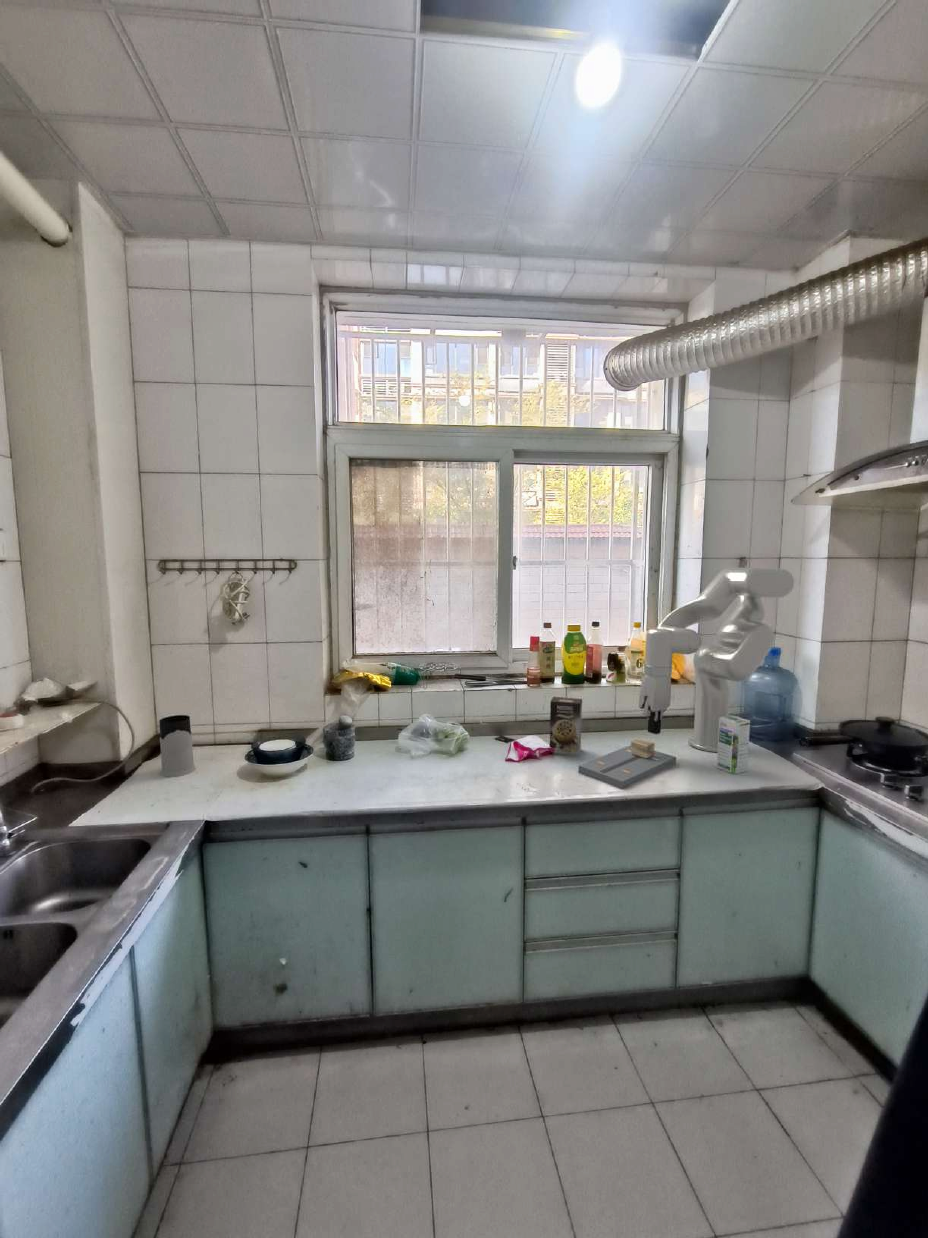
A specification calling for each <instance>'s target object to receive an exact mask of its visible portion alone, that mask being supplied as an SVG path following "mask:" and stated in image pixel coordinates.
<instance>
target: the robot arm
mask: <svg viewBox="0 0 928 1238" xmlns="http://www.w3.org/2000/svg"><path fill="white" fill-rule="evenodd" d="M794 587H795V578H794V576H793V574H792V573H791V572H790V571H789V570H787V569H783V568H781V569H780V568H760V567H759V568H758V567H727V568H723V569H722V570H721V571H720V572H719V573H718V574H717V575H715V577H714V578H713V579H712V580H711V581H710V583H709V584H708V585H707V586H706V587H705V588H704V589H703V591H702V592H701V593H700V594H699V596H697V597H696V598H695V599H693V600H690V601H688V602H686V603H684V604H683V605H681V606H679V607H678V608H676V609H674V610H673V611H671V612H670V613H669V614H668V615H666V616H665V617H664V618H663V619H662V621H661V622H660V623H659V624H658V625H657V627H656V628H650V629H648V630H647V631H646V635H645V648H644V650H645V652H644V665H643V666H644V668H643V676H642V679H641V685H640V691H639V697H638V698H639V699H638V708H639V709H641V710H643V712H642V714H643V716H647V718H646V719H648V720H647V733H651V734H653V735H659V734H661V732H662V731H661V728H662V719H663V715H664V713H666V711H667V710H668V708H669V707H670V706H671V702H672V674H673V673H672V672H673V671H672V670H673V658H674V657H673V655H674V654H676V655H692V654H693V669H694V674H695V699H694V700H695V701H694V702H695V704H694V723H693V725H694V727H693V735H692V736H690V737H689V738H688V744H689V745H690V746H691V747H693V748H695V749H697V750H701V751H705V752H714V753H718V734H719V718H721V717H723V716H730V695H731V693H730V691H731V690H730V686H729V684H728V681H732V682H737V683H741V682H742V683H743V682H744V681H747V680H748V679H749V678H750V677H751V676H752V675H753V674H755V672H756V670H757V669H758V668H759V666H760V665H761V663H763V662H764V660H765V658H766V657H767V655H768V654H769V653H770V651H771V649H772V647H773V645H774V641H775V636H774V632H773V628H771V627H770V626H769V625H768V624H766V623H763V620H764V618H765V615H766V614H765V608H764V605H763V603H762V599H761V598H784V597H786V596H788V595H789V594H791V593H792V591H793V590H794ZM736 599H737V604H736V607H734V610H733V611H732V612H731V613H730V615H729V616H728V617H727V619H726V620H725V621H724V623H722V625H721V626H720V628H719V630H718V631H717V634H716V640H717V643H718V644H719V645H718V644H704V645H703V644H702V637H701V636H700V634H699V633H698V632H697V631H695V630H694V629H690V628H688V627H691V626H693V625H696V624H700V623H704V622H709V621H713V620H716V619H718V618H720V617H721V616H722V615H723V614H724V613H725V612H726V610H727V609H728V608H729V607H730V606H731V604H732V603H733V602H734V601H735V600H736Z"/></svg>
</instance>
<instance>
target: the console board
mask: <svg viewBox="0 0 928 1238" xmlns="http://www.w3.org/2000/svg"><path fill="white" fill-rule="evenodd" d="M676 764H677V756H674V755H671V754H667V753H665V752H661V751H659V750H658V751H657V750H654V755H653V756H651V757H648V758H644V757H640V756H637V755H634V754H631V744H630V745H628V746H624V747H623V748H620V749H618V750H615V751H612V752H609V753H607V754H604V755H602V756H599V757H597V758H594V759H592V760H589V761H587V762H584V763H581V764H578V768H577V769H578V771H577V772H578V773H579V774H581V775H584V776H587V777H589V778H592V779H595V780H597V781H599V782H603V783H605V784H608V785H611V786H612V787H616V788H617V789H618V788H619V789H620V790H623V789H625V788H628V787H630V786H632V785H634V784H636V783H638V782H641V781H642V780H644V779H647V778H649V777H651V776H653V775H655V774H658V773H659V772H662V771H663V770H666V769H668V768H670V767H672V766H675V765H676Z"/></svg>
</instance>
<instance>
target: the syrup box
mask: <svg viewBox="0 0 928 1238" xmlns="http://www.w3.org/2000/svg"><path fill="white" fill-rule="evenodd" d="M750 728H751V720H750V719H746V718H742V717H739V716H735V715H729V716H723V717H721V718H719V734H718V752H716V754H717V757H716V758H717V759H716V768H717V769H719V770H723V771H725V772H727V773H730V774H732V775H736V774H741V773H743V772H746V771H748V761H749V747H750V745H749V744H750Z"/></svg>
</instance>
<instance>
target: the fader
mask: <svg viewBox="0 0 928 1238" xmlns="http://www.w3.org/2000/svg"><path fill="white" fill-rule="evenodd" d="M655 743H656V742H652V741H649V740H645V739H641V738H637V739H635V740H632V741H631V743H630V745H631V754H634V755H637V756H640V757H644V758H648V757H651V756H653V755H654V751H655Z"/></svg>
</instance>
